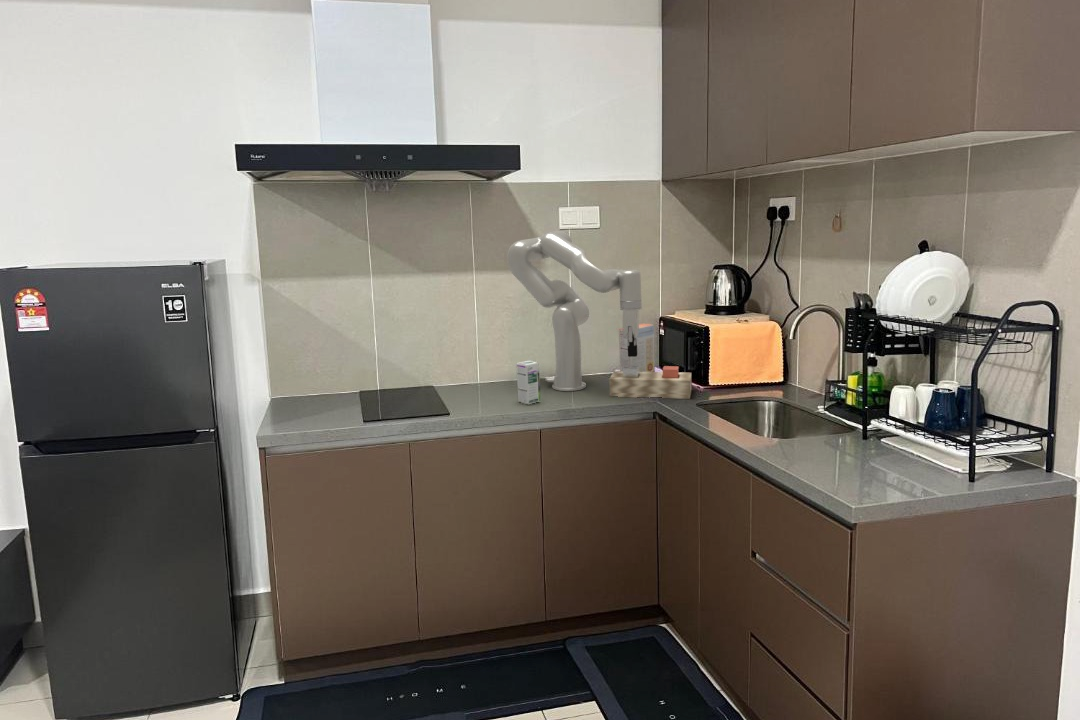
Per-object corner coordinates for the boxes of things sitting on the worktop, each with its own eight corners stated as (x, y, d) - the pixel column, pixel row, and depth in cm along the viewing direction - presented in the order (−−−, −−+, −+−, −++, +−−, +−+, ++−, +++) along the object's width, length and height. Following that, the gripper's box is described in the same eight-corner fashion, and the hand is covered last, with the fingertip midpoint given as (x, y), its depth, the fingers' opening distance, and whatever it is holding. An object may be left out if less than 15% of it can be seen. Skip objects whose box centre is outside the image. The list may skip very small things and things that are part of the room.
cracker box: (643, 375, 309) (643, 322, 305) (655, 377, 305) (655, 324, 300) (619, 381, 300) (618, 327, 296) (630, 384, 296) (629, 329, 292)
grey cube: (623, 381, 281) (622, 368, 280) (624, 378, 286) (624, 365, 285) (637, 381, 280) (637, 369, 279) (639, 378, 284) (639, 365, 283)
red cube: (662, 382, 278) (662, 369, 277) (663, 378, 282) (663, 366, 281) (677, 382, 276) (677, 369, 275) (678, 379, 281) (678, 366, 280)
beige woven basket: (609, 396, 280) (609, 379, 278) (614, 388, 291) (614, 371, 290) (689, 398, 273) (690, 380, 272) (691, 390, 285) (691, 372, 283)
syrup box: (528, 405, 272) (526, 364, 269) (517, 402, 277) (516, 362, 274) (541, 402, 276) (539, 362, 273) (530, 399, 280) (528, 359, 277)
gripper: (622, 302, 285) (624, 352, 288) (617, 308, 270) (619, 360, 274) (643, 301, 283) (645, 351, 287) (639, 308, 269) (641, 360, 272)
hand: (632, 356), depth 280 cm, fingers closed
